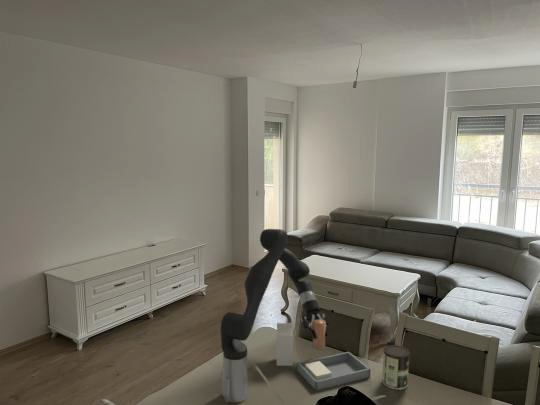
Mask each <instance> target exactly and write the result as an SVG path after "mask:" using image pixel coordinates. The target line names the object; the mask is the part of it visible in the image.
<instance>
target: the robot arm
mask: <svg viewBox="0 0 540 405" xmlns="http://www.w3.org/2000/svg"><path fill="white" fill-rule="evenodd" d="M288 238H289V237H288V232H287V231H286V230H285V229H280V228H279V229H278V228H266V229H263V230H262V231H261V233H260V235H259V241H260V245H261V246H262V248H263V249H264V250H266V251H267V253H266V255H265V256H264V257H262V258H261V259H260V260H258V261H257V262H256V263H255V264H253V266H252V267H251V268H250V271H249V272H248V274H247V276H246V279H245V281H244V292H245V296H246V302H247V303H246V308H245V311H244V313H243V314H240V313H236V312H230V311H229V312H226V313H225V314H224V315H223V317H222V318H221V323H220V339H221V350H222V352H223V353H222V354H223V357H222V360H223V362H222V364H223V366H222V368H223V371H222V372H221V395H222V397H223V399H224V401H225V402H226V403H231V404H234V403H235V404H236V403H241V402H243V401H245V400H247V398H248V347H247V345H246V344H245V343H244V342H243V341H246V340H247V339H248V338H249V336H250V335H251V333H252V331H253V326H254V324H255V321H256V317H257V314H258V311H259V308H260V305H261V303H262V301H263V297H264V296H265V294H266V291H267V288H268V286H269V284H270V281H271V278H272V276H273V274H274V271H275V269H276V266H277V264H278V262H279V261H280V262H281V264H282V265H283V266H284V267H285V268H286V269H287V270H288V271H287V274H288V277H289V279H290V280H291V282H292V283H293V285H294V286H295V288H296V290H297V293H298V297H299V301H300V305H301V306H302V310H303V312H304V315H305V316H302V317H301V318H300V319H299V321H300V322H301V325H302V327H303V329H304V331H306V332H308V331H309V333H310V335H311V337H312V340H313V339H316V338H317V336H316V333H315V331H314V330H313V328H314V326H313V323H314V320H317V319H320V320H324V321H325V322H326V331H325V338H327V337H328V336H329V334H330V333H329V329H328V327H329V326H330V319H329V313H327V312H326V313H323V312H321V308H320V305H319V302H318V299H317V297H316V295H315V293H314V289H313V287H312V285H311V282H310V281H309V280H303V281H302V280H301V279H304V278H306V277H309V275H310V271H311V270H310V267H309V266H308V264H307V263H305V261H302V260H301V259H298V257H297V256H296V255H295V253H293V251H291V250H290V249H288V248H286V247H287V244H288ZM300 280H301V281H300Z"/></svg>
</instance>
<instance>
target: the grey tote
mask: <svg viewBox="0 0 540 405" xmlns="http://www.w3.org/2000/svg"><path fill="white" fill-rule="evenodd" d="M317 361H320V362H321V363H322V364H323V365H324V366H325V367H326V368H327V369H328V370H329V371H330V372H331V373H332V377H331V378H326V379H322V380H318V381H316V380H315V379H314V377H313V376H312V375H311V374H310V373H309V372H308V371H307V370H306V369H305V364H308V363H313V362H317ZM297 372H298V373H299V374H300V375H301V376H302V377H303V378H304V379H305V381H306V382H307V383H308V384H309V385H310V386H311V387H312V388H313V389H314V390H315V391H316V392H317V391H320V390H323V389H328V388H332V387H336V386H340V385H344V384H348V383H352V382H356V381H360V380H364V379H368V378H369V379H370V378H371V368H370V367H368V366H367V365H366V364H365V363H363V362H362V361H361V360H360V359H359V358H357V357H356V356H355V355H354V354H353V353H351V352H350V351H346V352H341V353H337V354H332V355H328V356H323V357H319V358H315V359H309V360H305V361H300V362H297Z"/></svg>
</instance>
